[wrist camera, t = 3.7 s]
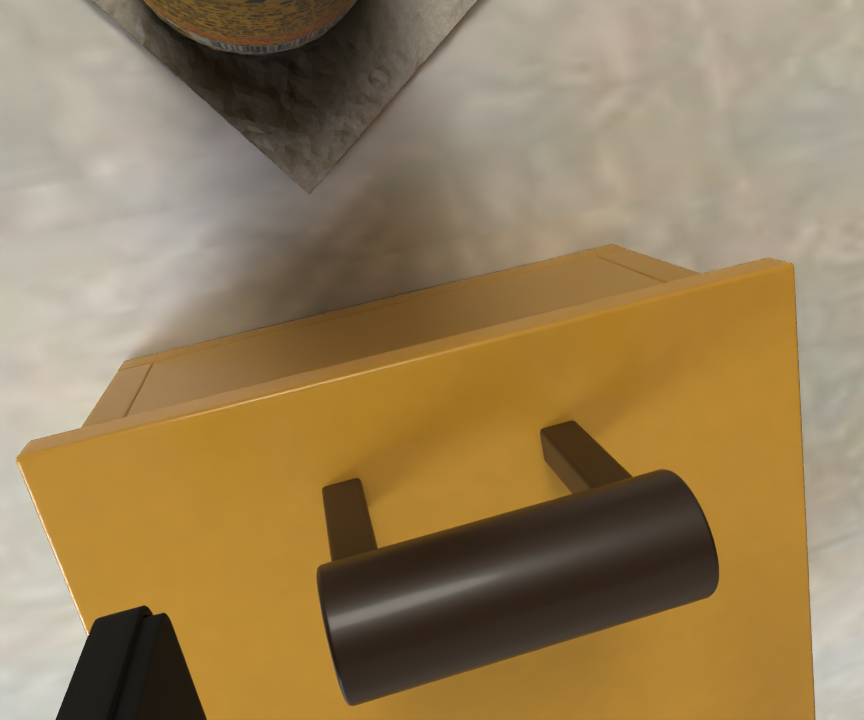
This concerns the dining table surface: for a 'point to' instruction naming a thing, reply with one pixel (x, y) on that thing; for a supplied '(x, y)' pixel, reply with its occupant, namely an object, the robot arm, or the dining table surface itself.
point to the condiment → (292, 64)
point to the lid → (474, 520)
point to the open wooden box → (376, 328)
